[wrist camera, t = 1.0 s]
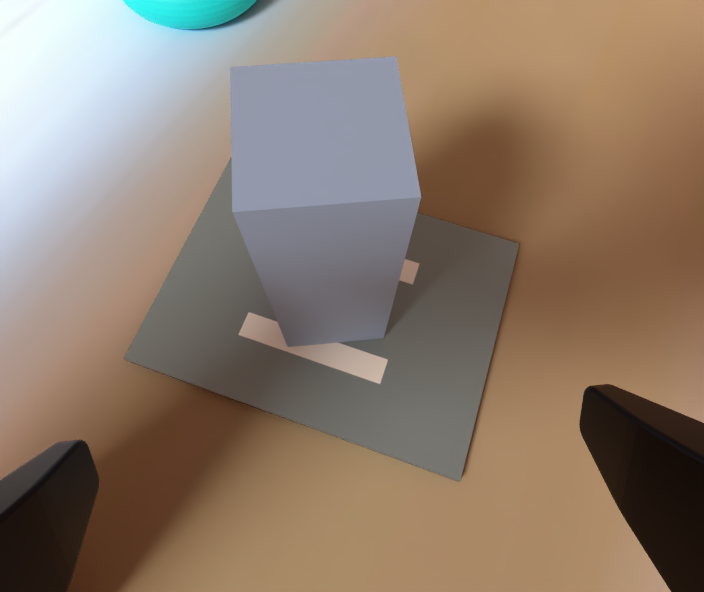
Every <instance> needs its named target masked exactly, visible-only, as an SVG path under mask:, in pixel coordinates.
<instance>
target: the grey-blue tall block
mask: <svg viewBox="0 0 704 592" xmlns="http://www.w3.org/2000/svg"><path fill="white" fill-rule="evenodd" d="M230 82H231V157H232V213H233V215H234V218H235V220H236V223H237V225H238V227H239V230H240V232H241V235H242V237H243V240H244V242H245V244H246V247H247V249H248V252H249V254H250V257H251V259H252V261H253V264H254V266H255V269H256V271H257V274H258V276H259V278H260V281H261V283H262V286H263V288H264V291H265V293H266V295H267V298H268V300H269V303H270V305H271V308H272V310H273V312H274V315H275V317H276V320H277V322H278V325H279V327H280V329H281V332H282V334H283V337H284V339H285V342H286V344H287V346H288V347H295V346H306V345H317V344H327V343H338V342H349V341H359V340H370V339H381V338H384V335H385V331H386V327H387V324H388V320H389V316H390V313H391V309H392V305H393V301H394V298H395V294H396V290H397V286H398V283H399V279H400V275H401V271H402V268H403V264H404V260H405V256H406V253H407V249H408V245H409V241H410V238H411V234H412V230H413V227H414V223H415V219H416V215H417V212H418V208H419V204H420V200H421V193H420V187H419V181H418V176H417V170H416V164H415V159H414V153H413V148H412V142H411V136H410V131H409V125H408V119H407V114H406V108H405V103H404V97H403V91H402V86H401V80H400V74H399V69H398V63H397V58H396V57H380V58H365V59H349V60H334V61H318V62H302V63H287V64H271V65H256V66H240V67H230Z"/></svg>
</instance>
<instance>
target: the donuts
mask: <svg viewBox="0 0 704 592" xmlns="http://www.w3.org/2000/svg"><path fill="white" fill-rule="evenodd" d="M123 1H124V2H125V4H126V5H127V6H128V7H130V8H131V9H132V10H133V11H134V12H136V13H137V14H139V15H140V16H141V17H143V18H145V19H147V20H149V21H151V22H154V23H156V24H159V25H163V26H167V27H171V28H178V29H201V28H208V27H212V26H216V25H220V24H223V23H225V22H228V21H230V20H232V19H234V18H236V17H237V16H239V15H241V14H242V13H244V12H245V11H246V10H248V9H249V8H250V7H251V6H252V5H253V4H254V3H255V2H256V1H257V0H123Z"/></svg>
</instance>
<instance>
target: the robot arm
mask: <svg viewBox="0 0 704 592" xmlns="http://www.w3.org/2000/svg"><path fill="white" fill-rule="evenodd" d="M580 431H581V434H582V437H583V439H584V441H585V443H586V445H587V447H588V449H589V451H590V453H591V455H592V457H593V459H594V461H595V463H596V465H597V467H598V469H599V471H600V473H601V475H602V477H603V479H604V481H605V483H606V485H607V487H608V489H609V491H610V493H611V495H612V497H613V499H614V500H615V502H616V504H617V506H618V508H619V510H620V511H621V513H622V515H623V516H624V518H625V520H626V521H627V523H628V525H629V526H630V528H631V529H632V531H633V532H634V534H635V536H636V537H637V539H638V540H639V542H640V543H641V545H642V547H643V548H644V550H645V551H646V553H647V554H648V556H649V558H650V559H651V561H652V562H653V564H654V565H655V567H656V569H657V570H658V572H659V573H660V575H661V576H662V578H663V580H664V581H665V583H666V584H667V586H668V587H669V589H670V591H671V592H704V423H702V422H700V421H697V420H695V419H693V418H690V417H688V416H685V415H683V414H681V413H678V412H676V411H673V410H671V409H669V408H666V407H664V406H661V405H659V404H657V403H654V402H652V401H649V400H647V399H645V398H642V397H640V396H637V395H635V394H633V393H630V392H628V391H625V390H623V389H620V388H618V387H616V386H613V385H610V384H604V385H594V386H589V387H587V388H586V389H585V391H584V395H583V402H582V409H581V416H580ZM98 488H99V477H98V473H97V470H96V467H95V464H94V461H93V459H92V456H91V453H90V450H89V447H88V445H87V444H86V442H85V441H82V440H72V441H63V442H58V443H56V444H54V445H53V446H51V447H50V448H48V449H47V450H45V451H44V452H42V453H41V454H39V455H38V456H36V457H35V458H33V459H32V460H30V461H29V462H27V463H26V464H24V465H22V466H21V467H19V468H18V469H16V470H15V471H13V472H12V473H10V474H9V475H7V476H6V477H4V478H3V479H1V480H0V592H67V590H68V587H69V585H70V582H71V579H72V577H73V574H74V571H75V567H76V564H77V561H78V558H79V554H80V551H81V547H82V544H83V541H84V537H85V534H86V530H87V527H88V523H89V520H90V516H91V513H92V510H93V506H94V503H95V499H96V496H97V492H98Z"/></svg>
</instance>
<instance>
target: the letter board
mask: <svg viewBox="0 0 704 592" xmlns="http://www.w3.org/2000/svg"><path fill="white" fill-rule="evenodd" d="M518 248H519V243H515V242H512V241H509V240H506V239H502V238H499V237H496V236H493V235H489V234H486V233H483V232H480V231H476V230H473V229H470V228H466V227H463V226H460V225H457V224H453V223H450V222H447V221H444V220H440V219H437V218H434V217H431V216H427V215H424V214H421V213H418V212H417V215H416V219H415V223H414V227H413V230H412V234H411V238H410V241H409V245H408V249H407V253H406V256H405V260H404V264H403V268H402V271H401V275H400V279H399V283H398V286H397V290H396V294H395V298H394V301H393V305H392V309H391V313H390V316H389V320H388V324H387V327H386V331H385V335H384V338H381V339H370V340H359V341H349V342H338V343H327V344H317V345H306V346H295V347H288V346H287V344H286V342H285V339H284V337H283V334H282V332H281V329H280V327H279V325H278V322H277V320H276V317H275V315H274V312H273V310H272V308H271V305H270V303H269V300H268V298H267V295H266V293H265V291H264V288H263V286H262V283H261V281H260V278H259V276H258V274H257V271H256V269H255V266H254V264H253V261H252V259H251V257H250V254H249V252H248V249H247V247H246V244H245V242H244V240H243V237H242V235H241V232H240V230H239V227H238V225H237V223H236V220H235V218H234V215H233V213H232V157H231V158H230V160H229V162H228V164H227V166H226V168H225V170H224V171H223V173H222V175H221V177H220V179H219V181H218V183H217V184H216V186H215V188H214V190H213V192H212V194H211V196H210V198H209V199H208V201H207V203H206V205H205V207H204V209H203V211H202V213H201V214H200V216H199V218H198V220H197V222H196V224H195V226H194V228H193V229H192V231H191V233H190V235H189V237H188V239H187V241H186V243H185V244H184V246H183V248H182V250H181V252H180V254H179V256H178V257H177V259H176V261H175V263H174V265H173V267H172V269H171V271H170V272H169V274H168V276H167V278H166V280H165V282H164V284H163V286H162V287H161V289H160V291H159V293H158V295H157V297H156V299H155V301H154V302H153V304H152V306H151V308H150V310H149V312H148V314H147V316H146V317H145V319H144V321H143V323H142V325H141V327H140V329H139V330H138V332H137V334H136V336H135V338H134V340H133V342H132V344H131V345H130V347H129V349H128V351H127V353H126V355H125V357H124V359H125V360H127V361H129V362H132V363H135V364H138V365H140V366H143V367H146V368H149V369H151V370H154V371H157V372H160V373H162V374H165V375H168V376H171V377H173V378H176V379H179V380H181V381H184V382H187V383H190V384H192V385H195V386H198V387H201V388H203V389H206V390H209V391H212V392H214V393H217V394H220V395H223V396H225V397H228V398H231V399H234V400H236V401H239V402H242V403H245V404H247V405H250V406H253V407H256V408H258V409H261V410H264V411H266V412H269V413H272V414H275V415H277V416H280V417H283V418H286V419H288V420H291V421H294V422H297V423H299V424H302V425H305V426H308V427H310V428H313V429H316V430H319V431H321V432H324V433H327V434H330V435H332V436H335V437H338V438H341V439H343V440H346V441H349V442H351V443H354V444H357V445H360V446H362V447H365V448H368V449H371V450H373V451H376V452H379V453H382V454H384V455H387V456H390V457H393V458H395V459H398V460H401V461H404V462H406V463H409V464H412V465H415V466H417V467H420V468H423V469H426V470H428V471H431V472H434V473H436V474H439V475H442V476H445V477H447V478H450V479H453V480H456V481H461V477H462V473H463V469H464V465H465V461H466V457H467V453H468V449H469V445H470V441H471V437H472V432H473V428H474V424H475V420H476V416H477V412H478V408H479V404H480V400H481V396H482V392H483V388H484V384H485V380H486V376H487V372H488V368H489V364H490V360H491V356H492V352H493V348H494V344H495V340H496V336H497V332H498V328H499V324H500V320H501V316H502V312H503V308H504V304H505V300H506V296H507V292H508V288H509V284H510V280H511V276H512V272H513V268H514V264H515V260H516V256H517V252H518Z"/></svg>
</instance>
